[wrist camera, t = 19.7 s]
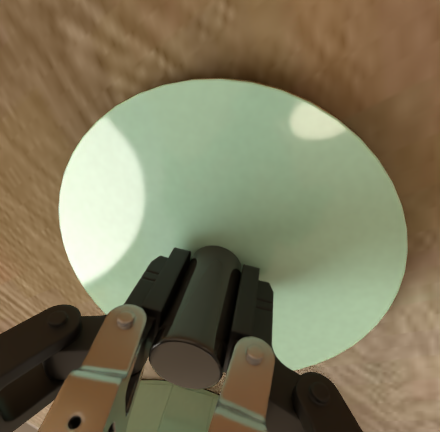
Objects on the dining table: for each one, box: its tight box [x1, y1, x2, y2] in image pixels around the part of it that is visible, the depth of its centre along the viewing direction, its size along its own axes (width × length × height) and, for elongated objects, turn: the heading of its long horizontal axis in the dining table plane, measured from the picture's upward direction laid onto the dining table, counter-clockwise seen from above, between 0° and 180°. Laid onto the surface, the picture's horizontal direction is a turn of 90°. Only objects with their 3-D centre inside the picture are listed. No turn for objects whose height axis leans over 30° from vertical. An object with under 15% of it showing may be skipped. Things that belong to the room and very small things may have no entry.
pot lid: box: [58, 78, 408, 389], centre depth 12 cm, size 16×16×6 cm
